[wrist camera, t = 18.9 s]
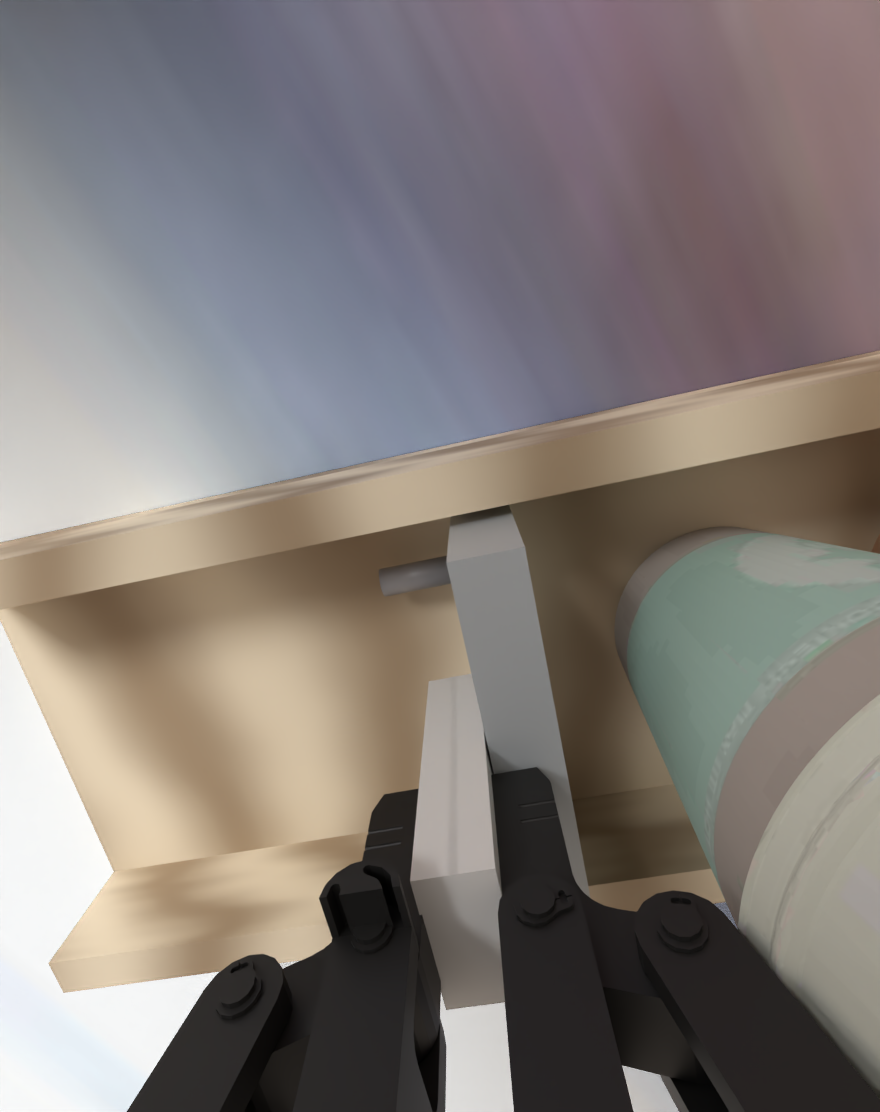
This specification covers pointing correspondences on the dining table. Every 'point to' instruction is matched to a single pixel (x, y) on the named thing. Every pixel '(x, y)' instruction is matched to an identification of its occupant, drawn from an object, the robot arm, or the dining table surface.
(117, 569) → the wooden tray
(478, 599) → the pusher
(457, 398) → the dining table surface
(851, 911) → the coffee cup
